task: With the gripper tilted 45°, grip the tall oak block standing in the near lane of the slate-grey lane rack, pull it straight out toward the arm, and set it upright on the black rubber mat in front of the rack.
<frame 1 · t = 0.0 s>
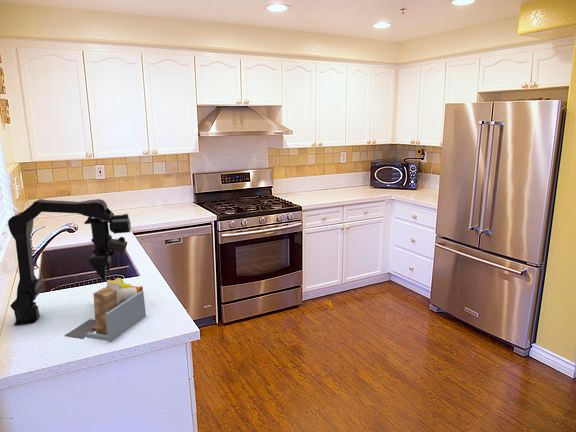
hand: (105, 274, 154), 15 cm above the worktop, tool pointing down, fingers open, 9 cm apart
lane rack: (117, 326, 145), on the worktop
oak block: (107, 332, 141), on the worktop
toy: (127, 292, 176), on the worktop
spotlight: (120, 303, 165), on the worktop
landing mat: (86, 329, 144), on the worktop
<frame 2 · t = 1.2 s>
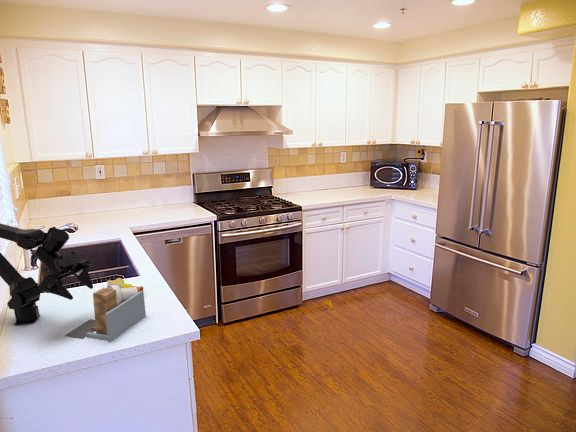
hand: (82, 293, 141), 13 cm above the worktop, tool tilted 45°, fingers open, 9 cm apart
oak block: (107, 332, 141), on the worktop, touching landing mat
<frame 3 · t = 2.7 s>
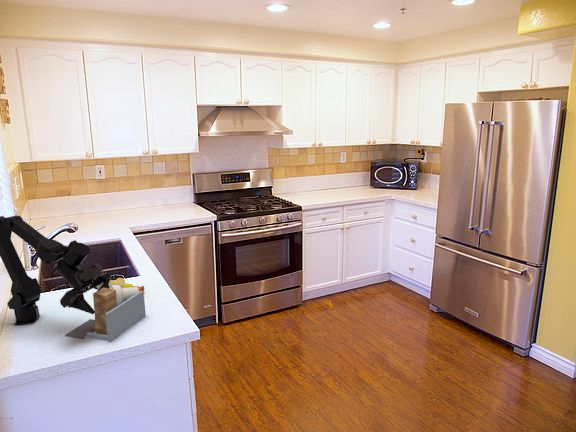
hand: (103, 307, 139), 9 cm above the worktop, tool tilted 45°, fingers open, 9 cm apart
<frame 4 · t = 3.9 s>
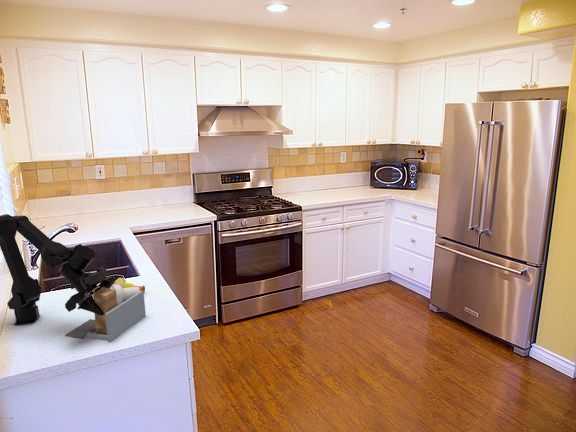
hand: (108, 311, 139), 8 cm above the worktop, tool tilted 45°, fingers closed on oak block, 5 cm apart
oak block: (107, 332, 141), on the worktop, touching gripper
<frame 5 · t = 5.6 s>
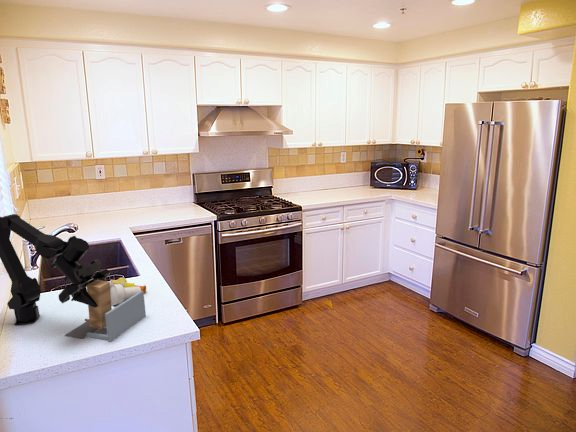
hand: (102, 303, 139), 11 cm above the worktop, tool tilted 45°, fingers closed on oak block, 5 cm apart
oak block: (101, 324, 141), point 3 cm above the worktop, touching gripper
when the fingers open (9 cm above the worktop, at t = 7.3 s): oak block drops 1 cm, resting on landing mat.
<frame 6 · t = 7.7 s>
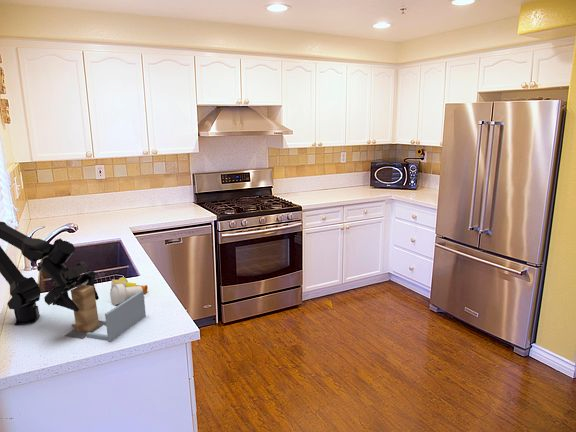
hand: (88, 304, 141), 9 cm above the worktop, tool tilted 45°, fingers open, 9 cm apart
oak block: (88, 328, 144), resting on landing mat
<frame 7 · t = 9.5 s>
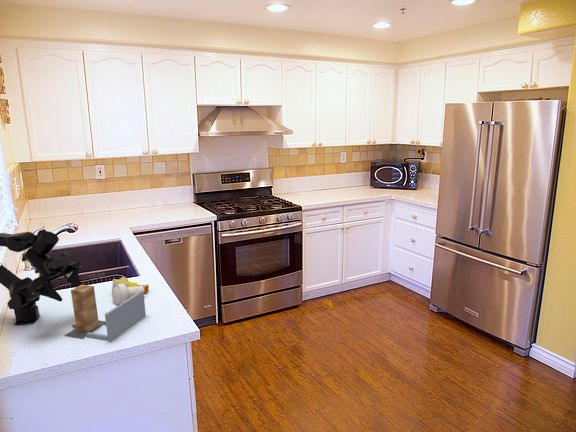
hand: (72, 295, 142), 12 cm above the worktop, tool tilted 45°, fingers open, 9 cm apart
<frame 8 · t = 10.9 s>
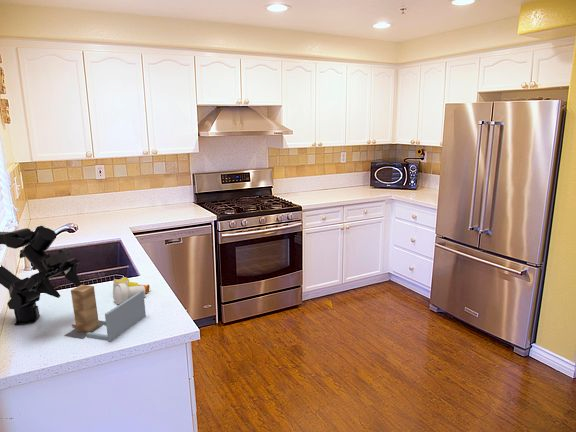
hand: (70, 291, 142), 14 cm above the worktop, tool tilted 45°, fingers open, 9 cm apart
at the end: oak block 0.6 cm from the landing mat (horizontally); oak block tilted 0°; the gripper is holding nothing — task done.
